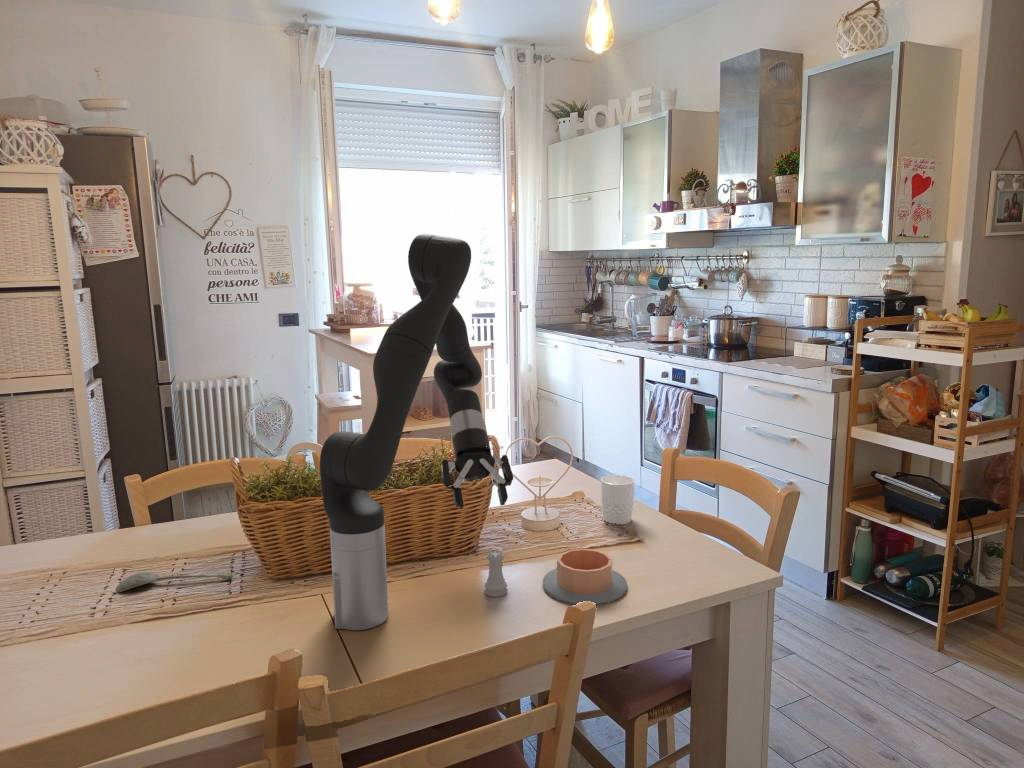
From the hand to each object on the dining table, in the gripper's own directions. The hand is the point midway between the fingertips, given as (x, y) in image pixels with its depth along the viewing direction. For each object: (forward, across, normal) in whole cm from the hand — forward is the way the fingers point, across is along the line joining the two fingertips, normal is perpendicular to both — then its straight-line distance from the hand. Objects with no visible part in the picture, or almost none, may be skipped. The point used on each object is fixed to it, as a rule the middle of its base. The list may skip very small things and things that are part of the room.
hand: (482, 505), depth 144 cm
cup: (+18, +17, +1) cm, 25 cm away
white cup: (-3, +37, +23) cm, 44 cm away
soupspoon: (+2, -59, +18) cm, 62 cm away
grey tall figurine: (+17, 0, +2) cm, 17 cm away
